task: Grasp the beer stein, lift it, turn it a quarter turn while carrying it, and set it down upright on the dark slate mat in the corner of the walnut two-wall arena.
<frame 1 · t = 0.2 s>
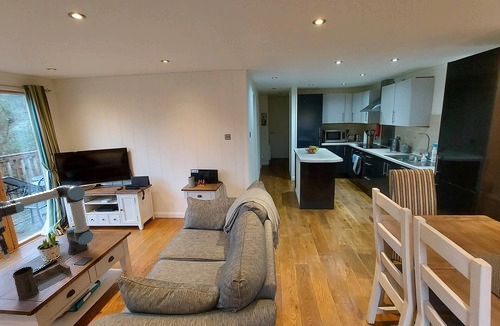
hand: (4, 255, 163), 28 cm above the table, fingers open, 13 cm apart
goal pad: (51, 280, 177), on the table
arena: (62, 268, 191), on the table
beer stein: (32, 295, 162), on the table
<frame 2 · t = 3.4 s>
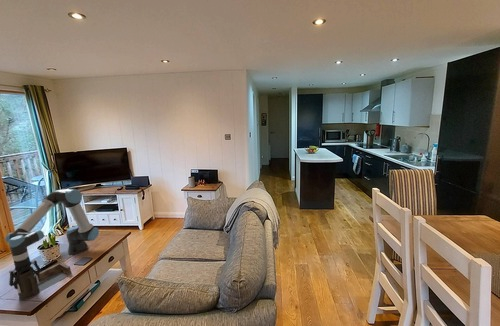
hand: (28, 287, 161), 7 cm above the table, fingers closed on beer stein, 9 cm apart
beer stein: (32, 295, 163), on the table, touching gripper
when the fingers open (8 cm above the table, at t = 9.5 s): beer stein drops 1 cm, resting on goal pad.
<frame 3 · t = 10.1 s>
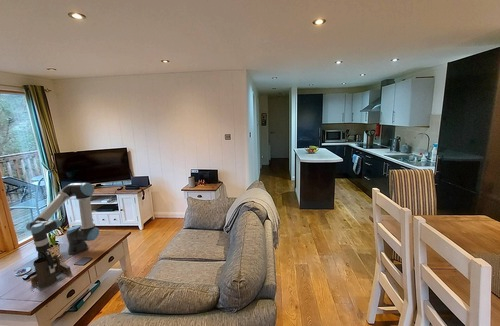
hand: (48, 269, 175), 10 cm above the table, fingers open, 13 cm apart
beer stein: (51, 280, 177), resting on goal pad
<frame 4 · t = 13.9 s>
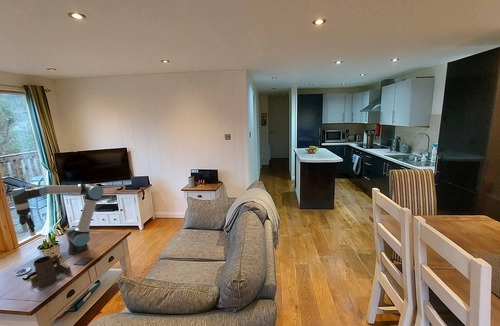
hand: (29, 233, 180), 35 cm above the table, fingers open, 13 cm apart
nothing on the table moved.
at the end: beer stein inside the target area (0.4 cm from its centre), resting on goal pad; beer stein tilted 0°; the gripper is holding nothing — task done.
